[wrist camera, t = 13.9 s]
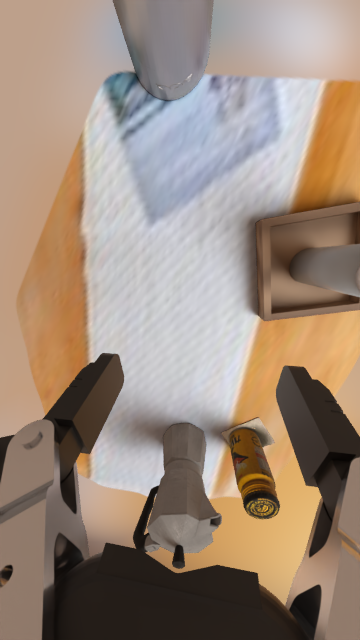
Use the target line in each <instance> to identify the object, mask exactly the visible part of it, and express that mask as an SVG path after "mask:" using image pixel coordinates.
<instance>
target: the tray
mask: <svg viewBox="0 0 360 640" xmlns="http://www.w3.org/2000/svg"><path fill="white" fill-rule="evenodd" d="M351 244H360V202H357V203H351V204H345V205H340V206H334V207H328V208H323V209H317V210H312V211H306V212H300V213H295V214H289V215H283V216H278V217H272V218H266V219H262V220H260V221H258V222H256V253H257V283H258V313H259V317H260V318H261V319H263V320H264V321H271V320H279V319H288V318H296V317H304V316H313V315H321V314H330V313H338V312H346V311H355V310H360V297H356V296H352V295H348V294H344V293H340V292H336V291H332V290H328V289H323V288H319V287H315V286H311V285H307V284H303V283H299V282H297V281H295V280H294V279H293V278H292V276H291V274H290V263H291V261H292V259H293V257H294V256H295V255H296V254H297V253H298V252H300V251H301V250H303V249H306V248H313V247H326V246H339V245H351Z"/></svg>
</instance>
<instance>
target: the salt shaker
mask: <svg viewBox="0 0 360 640" xmlns="http://www.w3.org/2000/svg"><path fill="white" fill-rule="evenodd" d="M290 274H291V276H292V278H293V279H294V280H295V281H297V282H299V283H303V284H307V285H311V286H315V287H319V288H323V289H328V290H332V291H336V292H340V293H344V294H348V295H352V296H356V297H360V244H351V245H339V246H326V247H313V248H306V249H303V250H301V251H300V252H298V253H297V254H296V255H295V256H294V257H293V259H292V261H291V263H290Z"/></svg>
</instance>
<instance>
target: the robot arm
mask: <svg viewBox="0 0 360 640" xmlns="http://www.w3.org/2000/svg"><path fill="white" fill-rule="evenodd" d="M113 3H114V6H115V9H116V12H117V16H118V19H119V22H120V25H121V28H122V31H123V35H124V38H125V41H126V44H127V47H128V50H129V53H130V56H131V60H132V62H133V66H134V69H135V72H136V75H137V77H138V79H139V80H140V82H141V84H142V85H143V86H144V88H145V89H146V90H147V91H148V92H149V93H151V94H152V95H153V96H155V97H157V98H159V99H163V100H176V99H179V98H181V97H184V96H185V95H186V94H188V93H189V92H191V91H192V90H193V88H194V87H195V86H196V85H197V84H198V82H199V81H200V79H201V77H202V76H203V73H204V71H205V68H206V66H207V61H208V57H209V48H210V37H211V24H212V12H213V0H113ZM123 383H124V374H123V370H122V366H121V362H120V358H119V355H118V354H110V353H102V354H101V355H100V356H99V357H98V359H97V360H96V361H95V363H90V364H89V365H87V366H86V367H85V368H83V369H82V370H81V371H80V372H79V374H78V375H77V376H76V378H75V380H73V381H72V383H71V384H70V385H69V387H68V388H67V389H66V390H65V392H64V393H63V394H62V395H61V397H60V398H59V399H58V400H57V402H56V403H55V404H54V406H53V407H52V408H51V409H50V411H49V412H48V413H47V415H46V416H45V417H44V418H43V419H42V420H37V421H35V422H32V423H30V424H28V425H26V426H25V427H23V428H22V429H21V430H20V431H19V432H17V433H16V434H15V435H11V436H6V437H1V438H0V640H360V437H359V435H358V434H357V432H356V431H355V429H354V427H353V426H352V424H351V423H350V421H349V420H348V418H347V417H346V415H345V414H343V410H342V409H341V407H340V406H339V404H337V401H336V400H335V398H334V397H333V395H332V394H331V392H330V390H329V389H328V388H326V387H325V386H324V385H323V384H322V383H321V382H320V381H318V380H313V379H312V378H311V377H310V375H309V373H308V372H307V370H306V369H305V368H304V367H298V366H284V367H283V370H282V373H281V376H280V379H279V382H278V385H277V388H276V398H277V403H278V405H279V408H280V411H281V414H282V417H283V420H284V423H285V426H286V429H287V432H288V434H289V437H290V440H291V443H292V446H293V449H294V452H295V455H296V458H297V460H298V463H299V466H300V469H301V472H302V475H303V478H304V481H305V483H306V485H307V486H314V487H318V488H319V491H320V493H321V496H322V498H321V499H320V502H319V505H318V509H317V512H316V516H315V519H314V523H313V526H312V530H311V533H310V537H309V540H308V544H307V548H306V551H305V554H304V557H303V560H302V562H301V564H300V566H299V568H298V570H297V572H296V574H295V577H294V579H293V582H292V585H291V588H290V592H289V595H288V599H287V602H286V605H285V606H284V605H283V604H282V603H281V602H280V600H279V599H278V598H277V597H276V596H274V595H273V594H272V593H270V592H269V591H268V590H267V589H266V588H265V587H263V586H261V585H260V584H259V581H258V574H257V573H255V572H250V571H244V570H240V569H235V568H230V567H225V566H220V565H215V566H210V567H206V568H201V569H197V570H192V571H188V572H183V573H175V572H173V571H171V570H170V569H168V568H167V567H165V566H163V565H162V564H161V563H159V562H158V561H156V560H155V559H153V558H152V557H150V556H149V555H147V554H146V553H145V552H143V551H142V550H140V549H135V548H130V547H125V546H120V545H115V544H110V543H106V544H105V547H104V550H103V552H102V553H99V554H96V555H94V556H92V557H89V548H88V541H87V534H86V530H85V526H84V524H83V521H82V516H81V507H80V495H79V485H78V473H77V463H76V460H77V458H78V456H79V454H80V453H86V454H90V453H91V451H92V449H93V447H94V444H95V442H96V440H97V438H98V436H99V434H100V432H101V430H102V428H103V426H104V424H105V422H106V420H107V418H108V416H109V414H110V411H111V409H112V407H113V405H114V403H115V401H116V399H117V397H118V395H119V393H120V391H121V389H122V386H123Z"/></svg>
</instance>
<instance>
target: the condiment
mask: <svg viewBox="0 0 360 640" xmlns="http://www.w3.org/2000/svg"><path fill="white" fill-rule="evenodd" d="M254 428H255V429H254ZM221 434H222V436H223V437H224V438H225V440H226V441H227V442H228V444H229V445H230V449H231V454H232V459H233V466H234V470H235V475H236V481H237V485H238V489H239V491H240V493H241V496H242V499H243V504H244V508H245V510H246V512H247V513H248V514H249V515H250V516H252V517H254V518H258V519H269V518H272V517H274V516H276V515H277V513H278V511H279V508H280V504H279V501H278V499H277V494H276V491H275V482H274V479H273V476H272V473H271V470H270V468H269V465H268V462H267V459H266V456H265V454H264V451H263V448H262V447H264V446H267V445H271V444H273V443H275V442H274V440H273V439H272V437H271V435H270V434H269V432H268V431H267V429H266V428H265V426H264V425H263V423H262V422H261V420H260V419H259V418H256V419H254V420H251V421H250V422H247V423H245V424H242V425H239V426H236V427H234V428H231V429H229V430H227V431H224V432H222V433H221Z"/></svg>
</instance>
